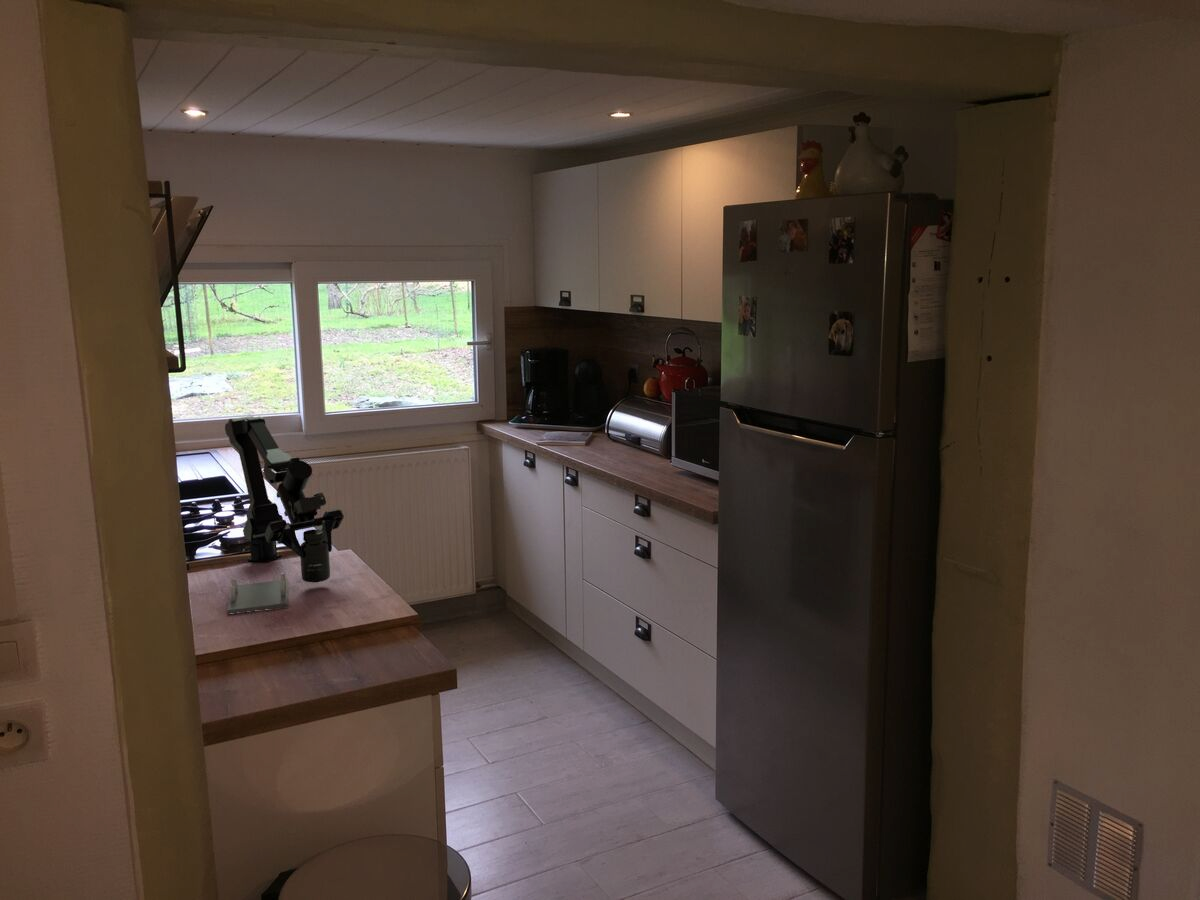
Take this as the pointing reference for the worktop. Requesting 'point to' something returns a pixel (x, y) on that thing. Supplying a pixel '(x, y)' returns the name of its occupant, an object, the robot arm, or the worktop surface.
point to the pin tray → (258, 595)
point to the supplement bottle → (315, 557)
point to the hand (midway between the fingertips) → (317, 554)
